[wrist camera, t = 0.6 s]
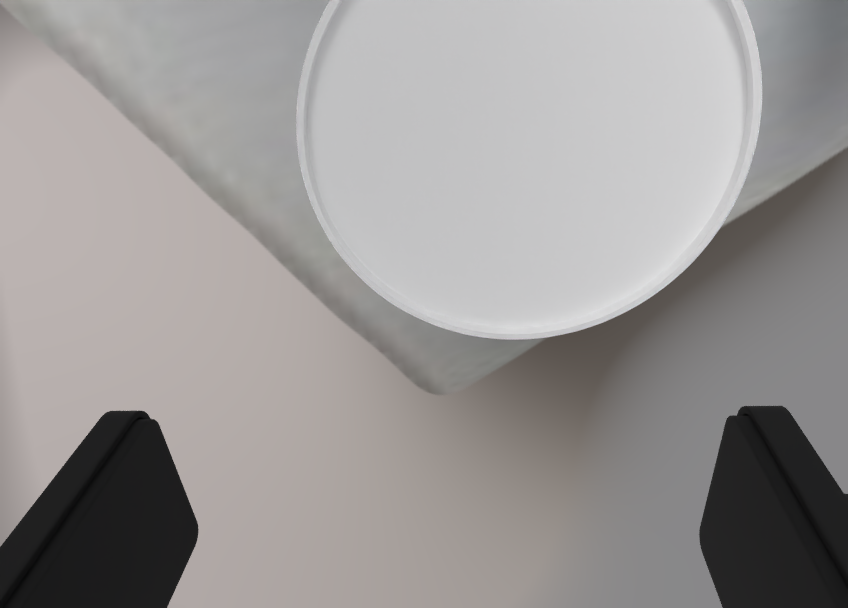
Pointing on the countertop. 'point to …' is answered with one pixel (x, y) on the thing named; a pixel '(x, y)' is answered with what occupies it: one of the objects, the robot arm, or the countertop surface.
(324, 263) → the countertop surface
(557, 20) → the canister
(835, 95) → the countertop surface
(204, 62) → the countertop surface
